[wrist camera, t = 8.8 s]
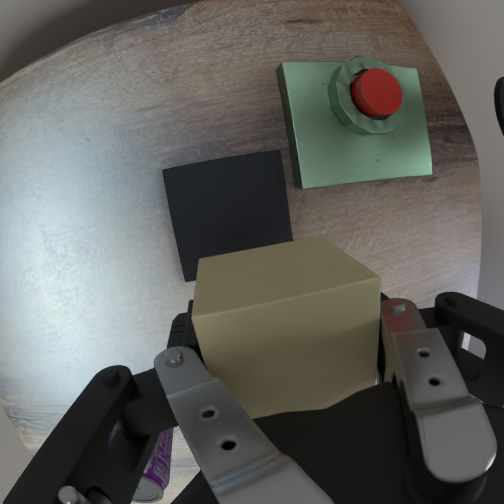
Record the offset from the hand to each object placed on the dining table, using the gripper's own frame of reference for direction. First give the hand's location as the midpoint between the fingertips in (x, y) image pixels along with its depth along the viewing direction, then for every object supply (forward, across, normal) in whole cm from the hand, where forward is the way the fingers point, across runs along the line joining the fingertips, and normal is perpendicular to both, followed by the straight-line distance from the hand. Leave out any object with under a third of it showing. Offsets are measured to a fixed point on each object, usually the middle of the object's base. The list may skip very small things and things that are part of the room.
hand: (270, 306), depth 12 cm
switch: (+11, -13, -11) cm, 20 cm away
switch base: (+15, -12, -9) cm, 21 cm away
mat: (+15, 0, -2) cm, 15 cm away
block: (0, 0, 0) cm, 0 cm away
